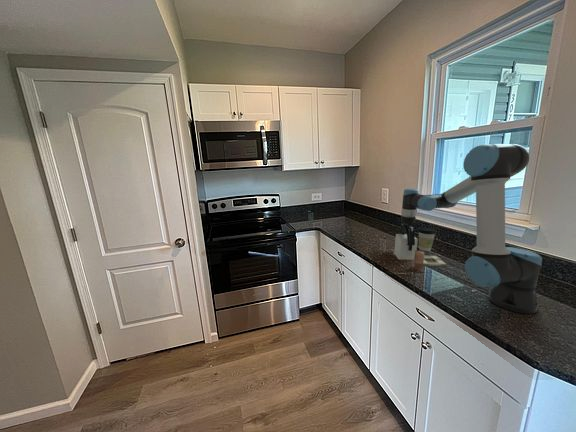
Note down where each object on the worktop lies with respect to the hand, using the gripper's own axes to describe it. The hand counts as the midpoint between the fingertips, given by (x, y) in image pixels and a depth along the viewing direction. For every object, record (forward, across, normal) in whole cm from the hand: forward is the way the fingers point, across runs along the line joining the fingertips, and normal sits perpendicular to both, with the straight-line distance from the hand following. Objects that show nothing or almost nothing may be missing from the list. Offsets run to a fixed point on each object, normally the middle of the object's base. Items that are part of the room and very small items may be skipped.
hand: (404, 251), depth 147 cm
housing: (+3, 0, 0) cm, 3 cm away
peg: (+5, -16, -1) cm, 17 cm away
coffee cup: (+5, +12, -17) cm, 22 cm away
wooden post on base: (+5, 0, 0) cm, 5 cm away
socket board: (+5, -6, -12) cm, 14 cm away
